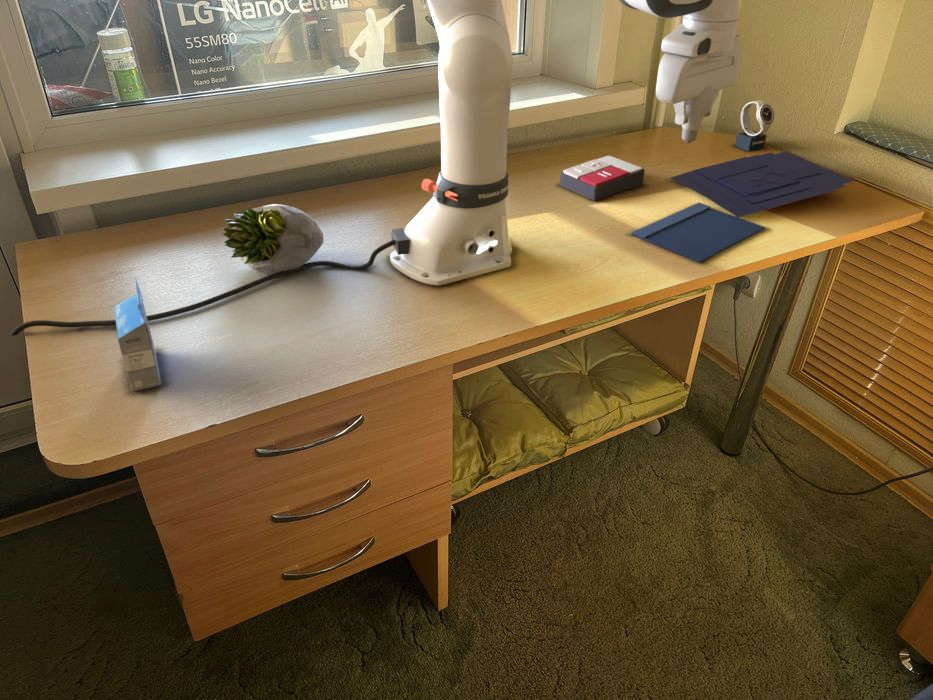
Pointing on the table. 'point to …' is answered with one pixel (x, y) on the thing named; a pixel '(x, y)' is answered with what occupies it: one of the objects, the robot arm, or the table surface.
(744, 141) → the watch
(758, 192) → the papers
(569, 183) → the button panel
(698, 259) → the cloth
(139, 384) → the label tape box
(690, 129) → the lightbulb
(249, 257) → the potted plant
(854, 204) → the table surface
